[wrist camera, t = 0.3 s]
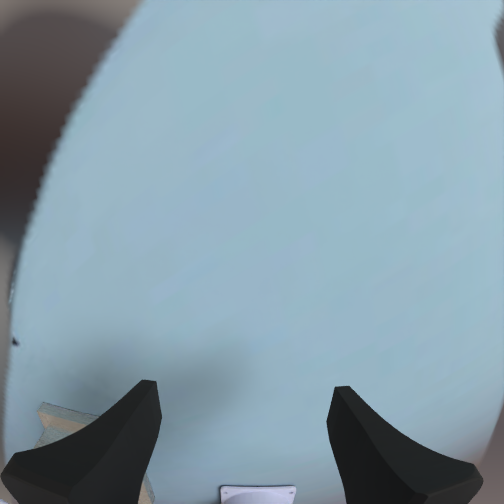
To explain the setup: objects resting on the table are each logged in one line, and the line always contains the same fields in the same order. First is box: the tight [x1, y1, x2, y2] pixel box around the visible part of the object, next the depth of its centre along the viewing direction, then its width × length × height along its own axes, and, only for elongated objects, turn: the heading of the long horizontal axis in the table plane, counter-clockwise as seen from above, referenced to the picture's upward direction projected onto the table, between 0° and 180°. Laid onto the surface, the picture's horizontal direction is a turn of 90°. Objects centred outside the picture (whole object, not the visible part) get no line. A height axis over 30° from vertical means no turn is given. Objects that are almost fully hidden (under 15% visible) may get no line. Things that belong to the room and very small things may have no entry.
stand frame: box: [33, 402, 155, 504], centre depth 23 cm, size 14×10×7 cm
